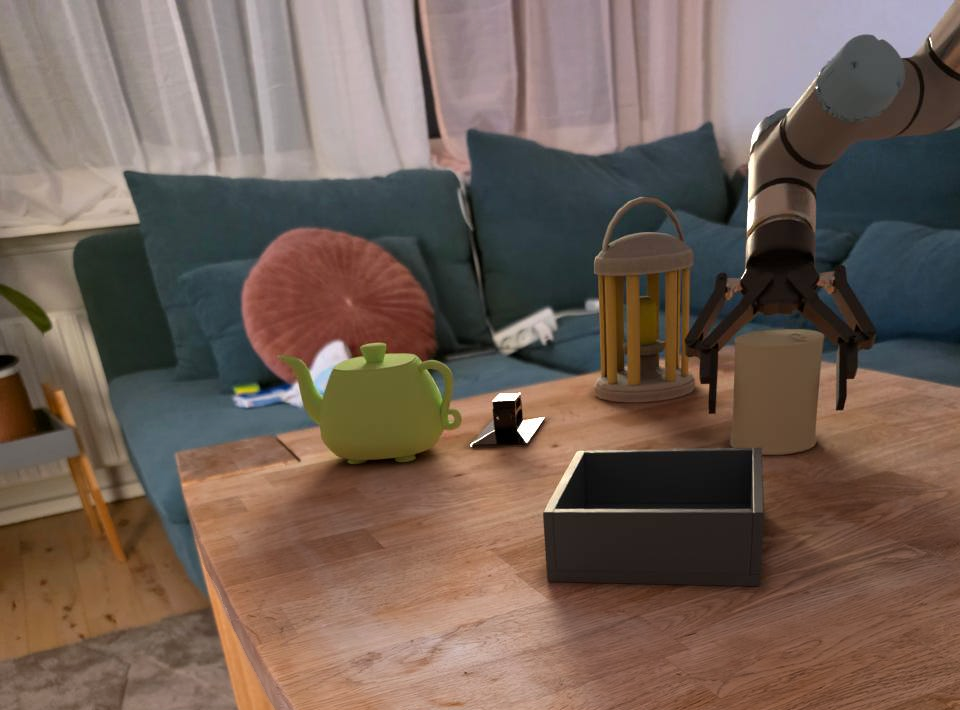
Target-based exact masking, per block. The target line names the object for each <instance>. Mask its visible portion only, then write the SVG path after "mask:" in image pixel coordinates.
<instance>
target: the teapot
mask: <svg viewBox="0 0 960 710" xmlns="http://www.w3.org/2000/svg"><path fill="white" fill-rule="evenodd" d="M359 350H360V352H361V355H362V356H355V357H351V358H347V359H345V360H343V361H340V362H338V363H337V364H335V365H334V366H333V368H332V369H331V371H330V374H329V377H328V379H327V383H326V386H325V390H324V392H323V395H322V394H321V393H320V392H319V391H318V389H317V388H316V385H315V382H314V380H313V376H312V374H311V372H310V369H309V368H308V366H307V364H306V363H305V362H304V361H303V360H302V359H300V358H298V357H295V356H290V355H283V354H281V355H280V354H278V355H277V358H278V359H280V360H281V361H283V363H285V364H287V365H288V366H289V367H290V369H291V370H292V372H293V374H294V376H295V377H296V381H297V384H298V388H299V393H300V398H301V401H302V402H301V403H302V405H303V408H304V410H305V412H306V414H307V415H308V417H309V418H310V419H311V420H312V421H313V422H314V423H315V424H317V425H318V426H319V430H320V431H319V432H320V438H321V441H322V442H323V444H324V445H325V446H326V447H327V449H329V450H330V452H332V453H333V454H334V455H335V456H336V457H338V458H341V459H347V463H348V464H350V465H357V464H363V463H366V462H367V461H368V460H369V461H370V460H371V461H373V460H386V459H394V460H395V462H397V463H406V462H412V461H414V460H416V459H417V457H416V454H421V453H423V452H425V451H427V450H430V449H431V448H433V447H434V446H435V445H436V444H437V443H438V442H439V439H440V438H441V436H442V435H443V432H444V430H445V431H454V430H457V429H458V428H459V427H460V426H461V424H462V421H463V419H462V417H463V416H462V415H461V414H462V413H461V412H460V411H459V410H458V409H456V408H450V407H451V402H452V398H453V392H454V384H455V382H454V375H453V372H452V370H451V369H450V368H449V366H447V364H445V363H443V362H441V361H438V360H435V359H429V360H424V361H422V360H421V359H420V358H419V356H418V355H416V354H413V353H405V352H404V353H396V352H395V353H386V352H387V343H384V342H373V343H371V342H370V343H366V344H363V345H361V346H360V347H359ZM429 370H435V371H438V372H439V373H440V374H441V376H442V377H443V382H444V388H443V395H442V394H441V392H440V389H439V388H438V385H437V383H436V382H435V380H434V378H433V376H432V375H431V373H430V371H429ZM450 415H451V416H452V417H453V419H454V420H453V421H450V420H449V416H450Z"/></svg>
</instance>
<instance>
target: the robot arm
mask: <svg viewBox="0 0 960 710" xmlns="http://www.w3.org/2000/svg"><path fill="white" fill-rule="evenodd" d="M959 127H960V0H954V1H953V2H952V3H951V5H950V6H949V7H948V9H947V10H946V11H945V13H944V14H943V15H942V17H941V18H940V19H939V21H938V22H937V24H936V25H935V26H934V28H933V29H932V30H931V31H930V33H929V34H928V36H927V37H926V38H925V39H924V40H923V41H922V43H921V44H920V46H919V47H918V48H917V50H916V51H915V52H914V53H913V55H912V56H910V57H901V55H900V54H899V52H898V51H897V49H896V48H895V47H894V46H893V45H892V44H891V43H890V42H888V41H887V40H886V39H878V38H877V37H876V36H875V35H874V34H859V35H856V36H853V37H852V38H851V39H849V40H848V41H847V42H846V43H845V44H844V45H843V46H842V47H841V48H840V49H839V50H838V51H837V52H836V54H835V55H834V56H832V58H830V60H828V61H827V62H826V63H825V65H824V66H822V68H821V70H820V71H819V73H818V74H817V75H816V77H815V78H814V79H813V80H812V82H811V83H810V84H809V86H808V87H807V88H806V89H805V91H804V92H803V93H802V95H801V96H800V97H799V98H798V99H797V101H796V102H795V103H794V104H793V106H791V107H785V108H781V109H778V110H775V112H773V114H771V115H768V116H765V117H764V118H763V119H761V121H760V122H759V123H758V124H757V126H756V127H755V129H754V131H753V133H752V137H751V144H750V149H749V156H748V162H747V166H748V182H747V183H748V186H747V187H748V188H747V213H746V214H747V215H746V235H745V237H746V244H745V260H744V261H745V262H744V273H743V275H742V276H741V277H728V274H727V273H726V272H722V271H721V272H719V273H718V274H717V275H716V278H715V283H714V290H713V291H712V293H711V295H710V296H709V298H708V300H707V301H706V303H705V305H704V306H703V308H702V310H701V311H700V313H699V314H698V316H697V318H696V319H695V321H694V322H693V325H692V326H691V328H690V329H689V333H688V335H687V336H686V338H685V355H686V356H687V357H689V358H693V357H696V358H698V359H699V370H698V371H699V373H698V374H699V375H698V376H699V377H698V378H699V383H700V385H708V401H707V402H708V405H707V406H708V415H715V414H717V413H716V412H717V397H718V395H717V394H718V373H719V352H720V351H721V350H722V349H723V348H724V347H725V346H726V345H727V344H728V343H729V342H730V340H731V339H733V337H735V335H736V334H737V333H739V331H740V330H741V329H743V327H744V326H745V325H746V324H747V323H751V321H752V320H753V319H754V318H755V317H757V316H758V314H759V313H760V314H762V315H763V317H764V316H765V317H766V316H773V315H776V314H780V315H793V313H794V312H797V313H799V315H800V316H802V317H803V318H804V320H809V321H810V323H812V324H813V325H814V326H815V327H816V328H817V329H818V330H819V332H821V333H823V334H824V336H825V337H827V339H829V340H830V341H831V343H833V344H834V345H835V346H836V347H837V353H836V356H835V357H836V358H835V361H836V362H835V367H836V368H835V411H836V412H837V411H844V409H845V406H846V403H847V402H846V401H847V398H848V380H855V378H856V375H857V372H858V369H859V351H861V350H862V351H863V350H865V351H868V350H871V349H872V348H873V347H874V343H875V340H876V336H877V333H878V330H877V327H875V324H874V323H873V321H872V319H871V318H870V316H869V315H868V313H867V312H866V310H865V308H864V307H863V305H862V304H861V302H860V300H859V299H858V296H857V295H856V294H855V292H854V290H853V289H852V286H850V284H849V282H848V277H847V268H846V266H845V265H843V264H837V265H836V266H834V268H833V270H832V271H824V272H819V270H818V269H817V267H816V230H817V186H818V185H817V184H818V181H819V179H820V178H821V176H822V175H823V174H824V173H825V172H826V171H827V170H828V169H829V168H830V167H831V166H833V164H834V163H836V162H837V160H838V159H839V158H840V157H841V156H842V155H843V154H844V153H845V152H846V151H847V150H848V149H849V148H850V147H851V146H852V145H854V143H857V142H865V141H874V140H882V139H883V140H885V139H891V138H899V137H911V136H931V135H937V134H940V133H942V132H945V131H950V130H954V129H957V128H959ZM819 287H823V288H824V289H825V291H826V292H827V294H828V295H832V299H833V301H834V303H835V305H836V306H837V308H838V310H839V312H840V314H841V315H842V318H843V319H844V320H843V319H842V318H841V317H840V316H839V315H838V314H836V312H835V311H834V310H832V309H831V307H829V305H827V304H826V303H825V301H823V300H822V299H821V298H820V296H819V294H818V292H817V291H816V290H817V289H818V288H819ZM738 291H739V292H740V294H741V295H742V297H741V299H740V302H739V303H738V304H737V305H736V306H735V307H734V308H733V309H732V311H730V312H729V313H728V315H726V316H725V317H724V318H723V320H721V322H720V323H719V324H718V325H717V326H716V327H715V328H714V329H713V330H712V331H711V329H712V327H713V326H714V324H715V322H716V321H717V319H718V317H719V316H720V314H721V312H722V311H723V309H724V307H725V304H726V301H730V300H731V299H732V297H733V296H734V294H735V293H736V292H738ZM710 331H711V332H710Z"/></svg>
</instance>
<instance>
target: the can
mask: <svg viewBox="0 0 960 710" xmlns="http://www.w3.org/2000/svg"><path fill="white" fill-rule="evenodd" d="M824 340H825V334H824V333H822V332H821V331H817V330H811V329H801V328H778V329H765V330H764V329H763V330H757V331H751V332H746V333H743V334H739V335H737V336H736V337H735V338H734V369H733V370H734V371H733V398H732V419H731V420H732V421H731V423H732V424H731V436H730V440H729V444H730V446H731V448H762V456H782V455H783V456H785V455H791V454H798V453H802V452H805V451H809V450H810V449H812V448H814V447H815V445H816V444H817V437H816V436H817V435H816V433H817V416H818V405H819V403H818V402H819V392H820V380H821V368H822V359H823V348H824Z"/></svg>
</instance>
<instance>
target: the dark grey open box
mask: <svg viewBox="0 0 960 710" xmlns="http://www.w3.org/2000/svg"><path fill="white" fill-rule="evenodd" d="M763 468H764V467H763V455H762V448H733V447H708V448H707V447H706V448H705V447H704V448H699V447H698V448H649V449H647V448H642V449H593V450H591V449H589V450H583V449H582V450H577V451H576V452H575V454H574V456H573V458H572V459H571V461H570V463H569V465H568V466H567V468H566V470H565V472H564V474H563V475H562V477H561V479H560V481H559V483H558V485H557V487H556V488H555V490H554V492H553V493H552V495H551V497H550V499H549V501H548V503H547V504H546V506H545V508H544V510H543V512H542V521H543V535H544V550H545V552H544V553H545V566H546V580H547V582H548V583H549V582H550V583H585V584H587V583H590V584H591V583H593V584H633V585H634V584H636V585H674V586H675V585H677V586H678V585H681V586H718V587H719V586H721V587H723V586H725V587H761V580H762V579H761V578H762V563H763V562H762V560H763V543H764V529H765V527H764V526H765V496H764V495H765V494H764V493H765V491H764V472H763V471H764V470H763Z"/></svg>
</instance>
